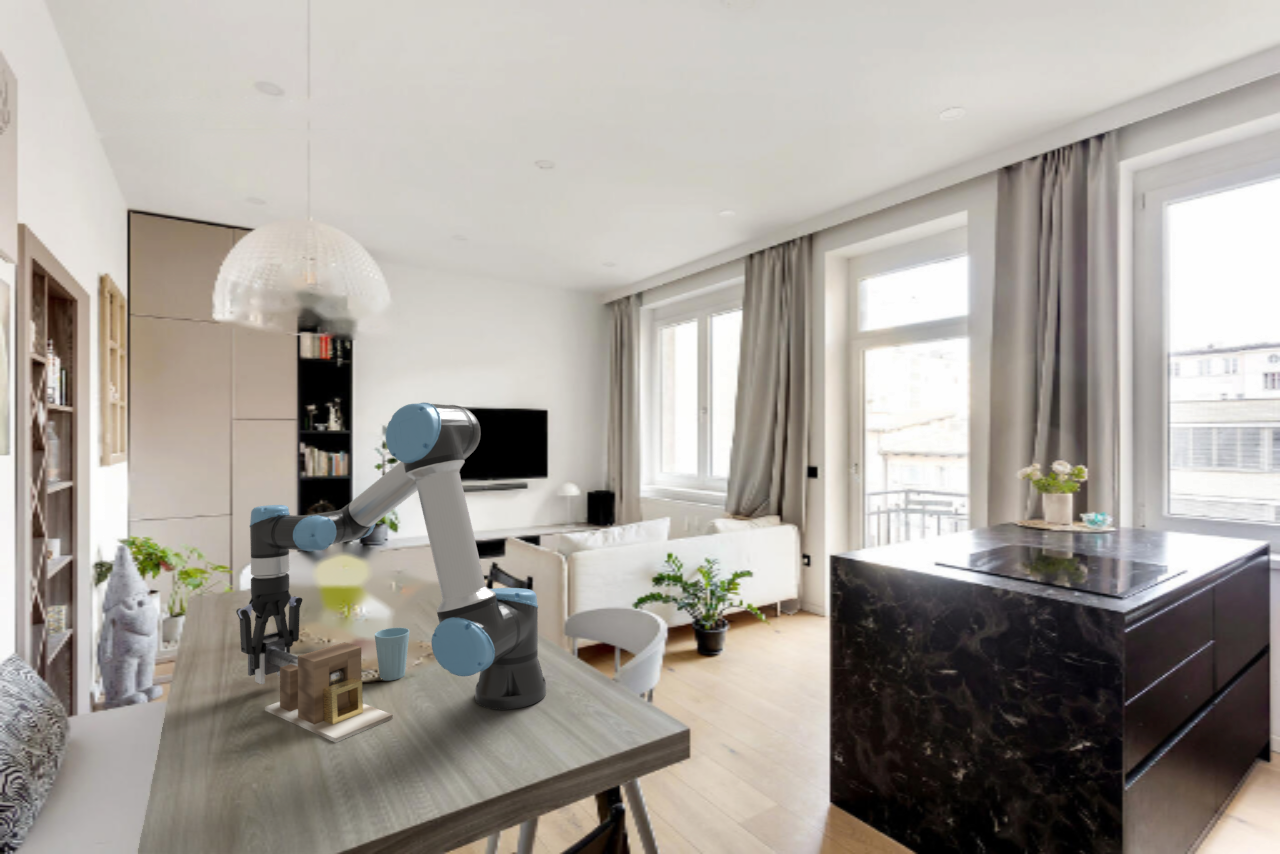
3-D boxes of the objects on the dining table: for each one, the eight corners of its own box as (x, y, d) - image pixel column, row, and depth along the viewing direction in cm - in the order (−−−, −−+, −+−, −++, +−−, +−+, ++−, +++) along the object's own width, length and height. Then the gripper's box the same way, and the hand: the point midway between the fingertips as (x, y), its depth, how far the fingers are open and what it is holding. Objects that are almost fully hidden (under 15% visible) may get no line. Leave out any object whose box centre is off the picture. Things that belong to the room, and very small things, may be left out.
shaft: (353, 692, 132) (352, 653, 132) (320, 704, 126) (319, 663, 126) (280, 665, 148) (280, 630, 148) (248, 675, 142) (247, 639, 142)
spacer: (363, 712, 130) (362, 680, 130) (332, 724, 124) (331, 691, 125) (354, 709, 131) (353, 678, 131) (324, 721, 126) (323, 688, 126)
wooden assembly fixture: (392, 718, 129) (392, 653, 129) (335, 742, 119) (335, 672, 119) (321, 690, 143) (320, 632, 143) (265, 710, 133) (264, 647, 133)
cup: (411, 679, 149) (410, 634, 150) (375, 684, 146) (375, 639, 147) (408, 668, 156) (408, 625, 157) (374, 673, 153) (374, 630, 153)
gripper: (299, 566, 153) (300, 664, 153) (220, 580, 139) (221, 688, 139) (316, 569, 149) (317, 670, 149) (237, 584, 135) (238, 695, 134)
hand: (271, 678), depth 144 cm, fingers closed on shaft, 4 cm apart
